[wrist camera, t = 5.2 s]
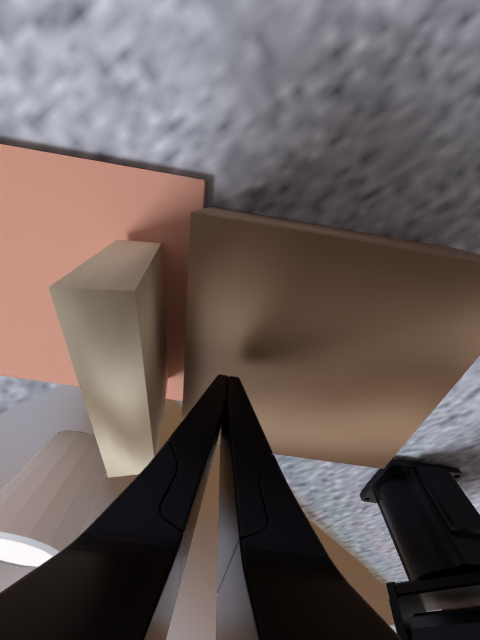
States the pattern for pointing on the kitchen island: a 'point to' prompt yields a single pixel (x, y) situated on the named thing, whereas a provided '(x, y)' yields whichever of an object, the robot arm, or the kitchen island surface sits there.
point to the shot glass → (49, 499)
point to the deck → (327, 330)
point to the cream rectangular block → (118, 348)
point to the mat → (83, 249)
